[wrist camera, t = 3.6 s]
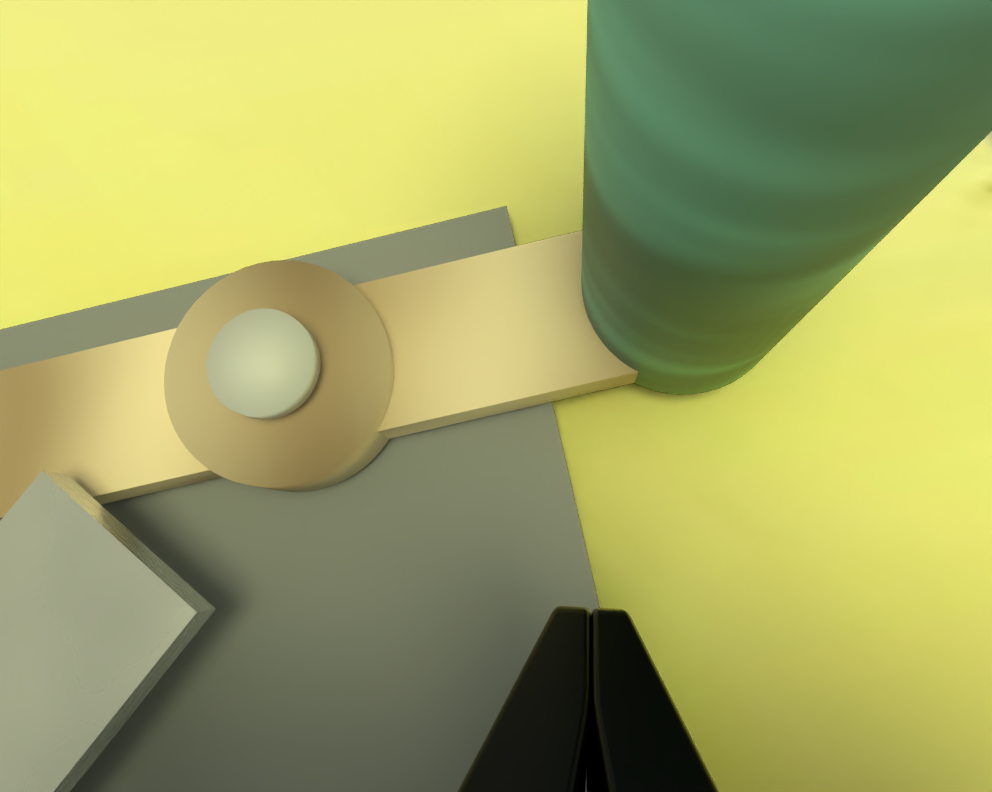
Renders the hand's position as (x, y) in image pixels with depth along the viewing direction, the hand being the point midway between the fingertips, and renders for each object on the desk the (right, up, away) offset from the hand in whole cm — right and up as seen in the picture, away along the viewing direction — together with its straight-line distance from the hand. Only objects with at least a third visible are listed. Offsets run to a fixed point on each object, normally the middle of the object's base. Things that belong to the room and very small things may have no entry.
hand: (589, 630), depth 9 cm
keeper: (-9, -3, +7) cm, 12 cm away
